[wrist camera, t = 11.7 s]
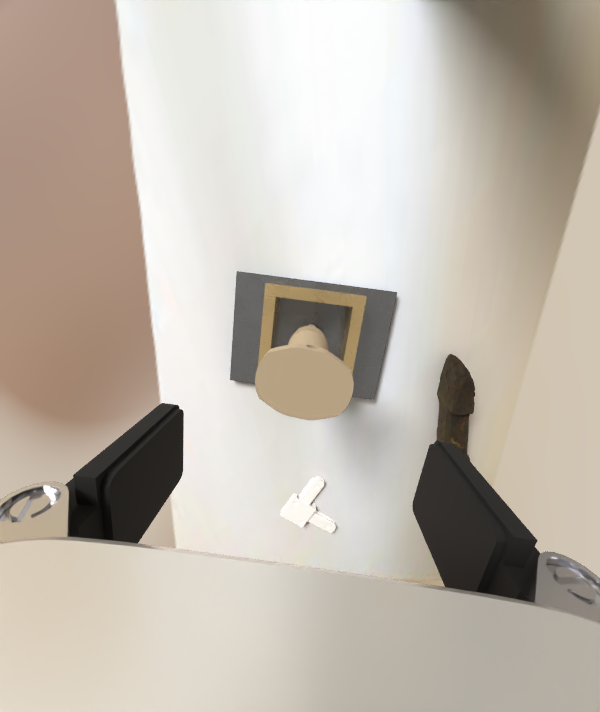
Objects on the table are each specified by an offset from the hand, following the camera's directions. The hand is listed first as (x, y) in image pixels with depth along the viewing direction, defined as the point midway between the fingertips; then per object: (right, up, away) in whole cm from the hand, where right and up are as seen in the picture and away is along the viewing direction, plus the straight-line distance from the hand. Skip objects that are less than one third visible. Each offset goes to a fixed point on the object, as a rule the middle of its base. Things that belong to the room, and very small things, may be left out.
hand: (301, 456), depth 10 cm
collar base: (+1, +6, +23) cm, 24 cm away
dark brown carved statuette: (+18, -5, +26) cm, 32 cm away
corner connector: (+3, -17, +30) cm, 35 cm away
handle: (+1, +6, +22) cm, 23 cm away
